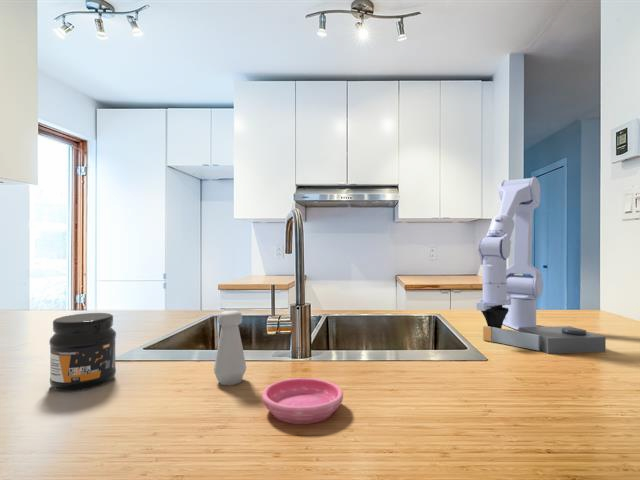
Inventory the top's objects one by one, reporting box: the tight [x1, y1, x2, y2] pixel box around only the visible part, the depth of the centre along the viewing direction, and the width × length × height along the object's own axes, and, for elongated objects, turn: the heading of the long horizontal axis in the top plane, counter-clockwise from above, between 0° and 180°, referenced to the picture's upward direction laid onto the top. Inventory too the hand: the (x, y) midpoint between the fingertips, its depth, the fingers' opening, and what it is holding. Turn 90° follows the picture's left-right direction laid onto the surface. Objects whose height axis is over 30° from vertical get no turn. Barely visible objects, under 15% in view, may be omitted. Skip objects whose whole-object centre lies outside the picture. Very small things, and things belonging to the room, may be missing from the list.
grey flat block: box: [518, 325, 607, 355], centre depth 95 cm, size 12×14×4 cm
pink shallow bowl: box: [261, 377, 344, 425], centre depth 60 cm, size 12×12×3 cm
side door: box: [482, 325, 541, 351], centre depth 96 cm, size 13×1×4 cm, turn 40°
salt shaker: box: [213, 309, 247, 386], centre depth 72 cm, size 6×6×13 cm
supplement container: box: [49, 312, 117, 392], centre depth 72 cm, size 10×10×12 cm
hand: (494, 335), depth 101 cm, fingers closed
